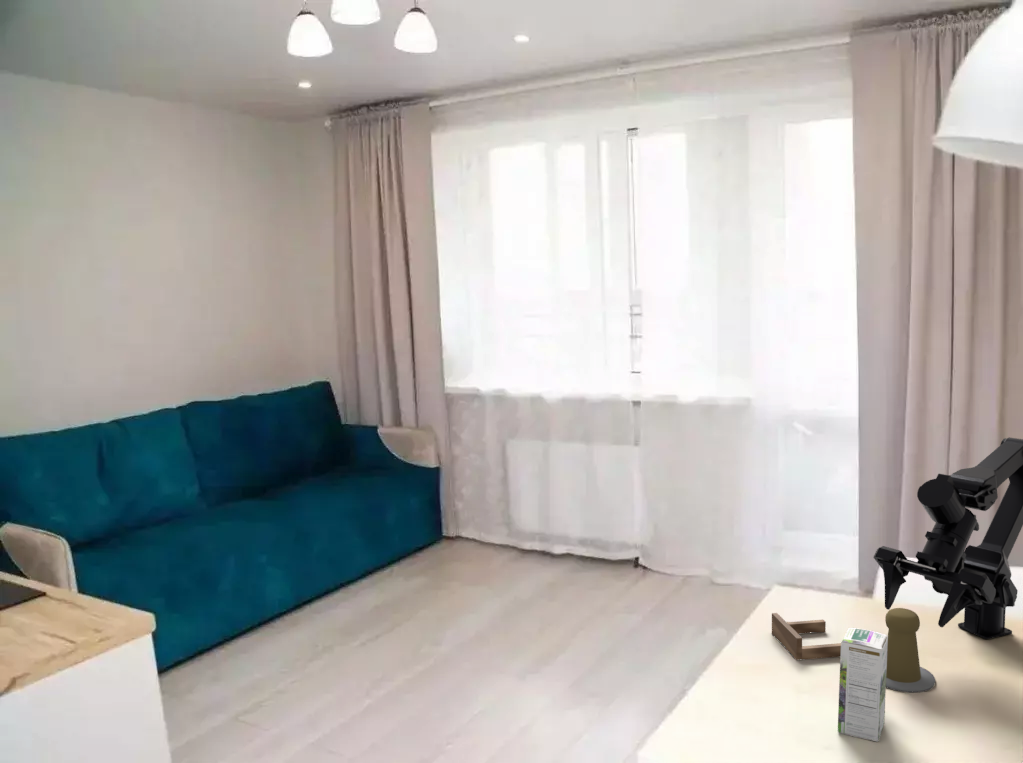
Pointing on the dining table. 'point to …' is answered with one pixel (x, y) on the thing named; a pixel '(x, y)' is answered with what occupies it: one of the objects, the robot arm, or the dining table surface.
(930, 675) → the coaster
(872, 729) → the syrup box
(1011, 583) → the robot arm
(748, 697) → the dining table surface
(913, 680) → the cork
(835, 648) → the holder
